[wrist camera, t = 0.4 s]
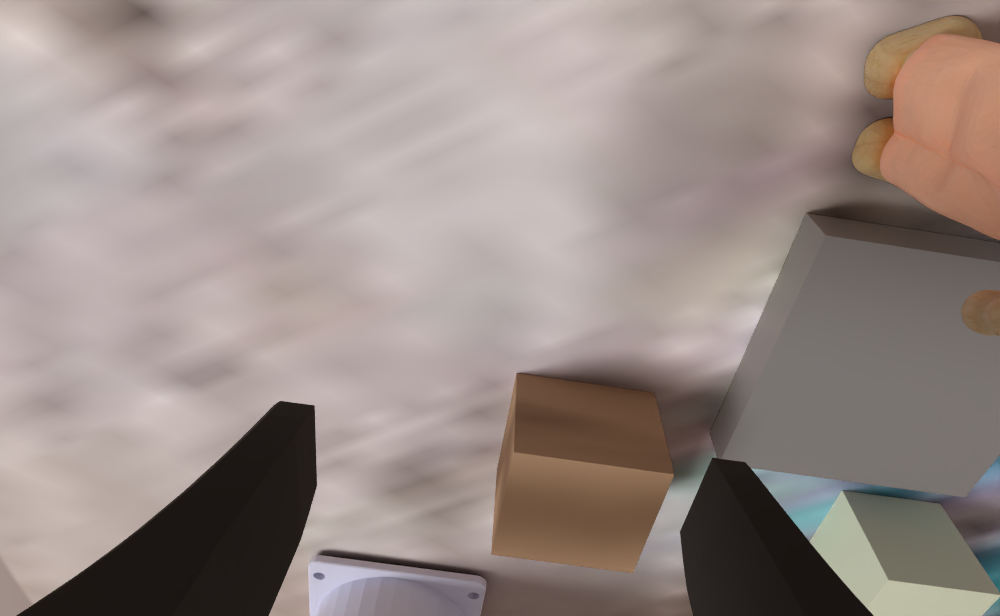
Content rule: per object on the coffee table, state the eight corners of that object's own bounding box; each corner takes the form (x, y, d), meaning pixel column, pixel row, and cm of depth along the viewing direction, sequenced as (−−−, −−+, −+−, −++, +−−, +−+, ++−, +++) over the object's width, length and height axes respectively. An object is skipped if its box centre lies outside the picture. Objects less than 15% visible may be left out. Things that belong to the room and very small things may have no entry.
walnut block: (619, 484, 26) (632, 573, 22) (497, 467, 25) (491, 554, 22) (654, 390, 23) (674, 474, 20) (517, 370, 23) (513, 452, 19)
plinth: (942, 466, 24) (965, 497, 23) (709, 433, 24) (719, 463, 22) (1097, 257, 19) (1136, 283, 18) (806, 213, 19) (826, 235, 18)
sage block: (891, 564, 27) (941, 657, 24) (801, 551, 27) (838, 643, 24) (939, 502, 25) (1001, 595, 22) (841, 488, 25) (888, 579, 22)
